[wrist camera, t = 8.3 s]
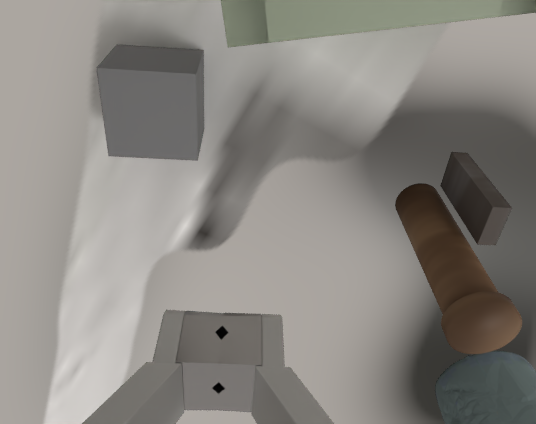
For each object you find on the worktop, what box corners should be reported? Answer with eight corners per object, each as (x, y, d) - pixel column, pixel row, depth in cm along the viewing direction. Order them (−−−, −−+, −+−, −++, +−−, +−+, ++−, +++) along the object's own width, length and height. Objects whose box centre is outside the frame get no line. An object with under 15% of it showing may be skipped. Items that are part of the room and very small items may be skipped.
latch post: (467, 152, 29) (563, 272, 20) (442, 224, 32) (516, 355, 23) (404, 149, 28) (474, 268, 19) (385, 221, 31) (438, 353, 22)
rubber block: (203, 49, 25) (196, 74, 22) (204, 127, 27) (197, 160, 24) (117, 43, 25) (96, 68, 21) (126, 123, 27) (108, 156, 24)
